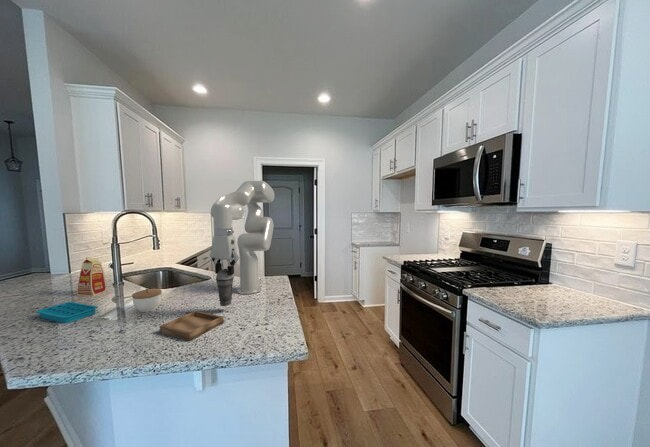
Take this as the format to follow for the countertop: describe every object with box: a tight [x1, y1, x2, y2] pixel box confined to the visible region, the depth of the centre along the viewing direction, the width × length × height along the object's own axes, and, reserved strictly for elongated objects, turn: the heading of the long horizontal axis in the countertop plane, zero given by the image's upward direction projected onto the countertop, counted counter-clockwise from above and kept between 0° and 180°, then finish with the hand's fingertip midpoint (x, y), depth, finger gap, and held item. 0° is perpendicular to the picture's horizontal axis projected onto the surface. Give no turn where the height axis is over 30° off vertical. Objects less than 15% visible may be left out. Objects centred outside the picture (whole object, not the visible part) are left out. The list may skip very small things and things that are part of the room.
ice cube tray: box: [35, 301, 99, 324], centre depth 107 cm, size 12×20×3 cm, turn 72°
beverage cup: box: [215, 259, 235, 307], centre depth 110 cm, size 7×7×20 cm
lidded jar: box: [131, 287, 163, 313], centre depth 112 cm, size 11×11×9 cm
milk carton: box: [76, 256, 108, 297], centre depth 134 cm, size 9×9×20 cm
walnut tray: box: [159, 310, 225, 342], centre depth 95 cm, size 15×15×2 cm
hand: (224, 273), depth 109 cm, fingers closed on beverage cup, 6 cm apart
